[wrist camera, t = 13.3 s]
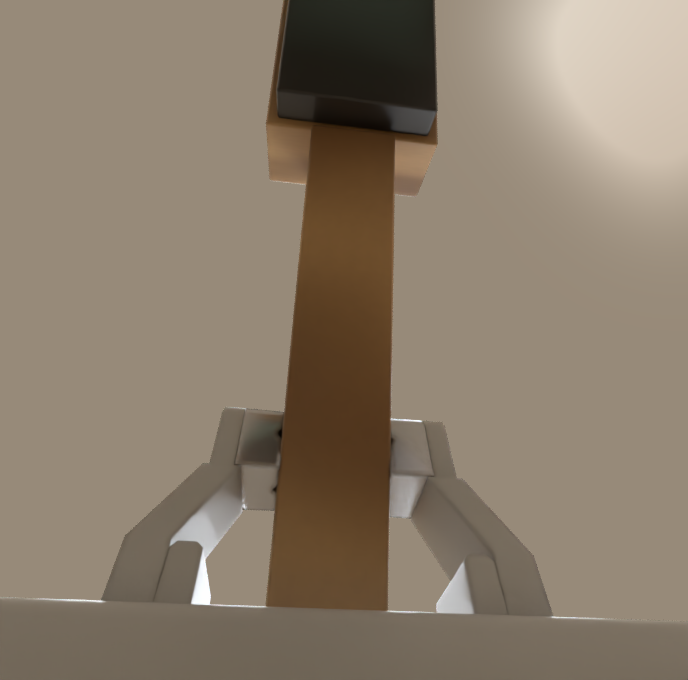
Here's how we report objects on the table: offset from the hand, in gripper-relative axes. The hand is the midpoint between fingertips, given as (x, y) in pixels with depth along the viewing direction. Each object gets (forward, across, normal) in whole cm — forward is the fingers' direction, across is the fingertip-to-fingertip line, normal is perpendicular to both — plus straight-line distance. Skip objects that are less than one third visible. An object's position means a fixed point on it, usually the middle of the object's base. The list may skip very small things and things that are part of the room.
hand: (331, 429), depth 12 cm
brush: (+5, 0, -5) cm, 7 cm away
